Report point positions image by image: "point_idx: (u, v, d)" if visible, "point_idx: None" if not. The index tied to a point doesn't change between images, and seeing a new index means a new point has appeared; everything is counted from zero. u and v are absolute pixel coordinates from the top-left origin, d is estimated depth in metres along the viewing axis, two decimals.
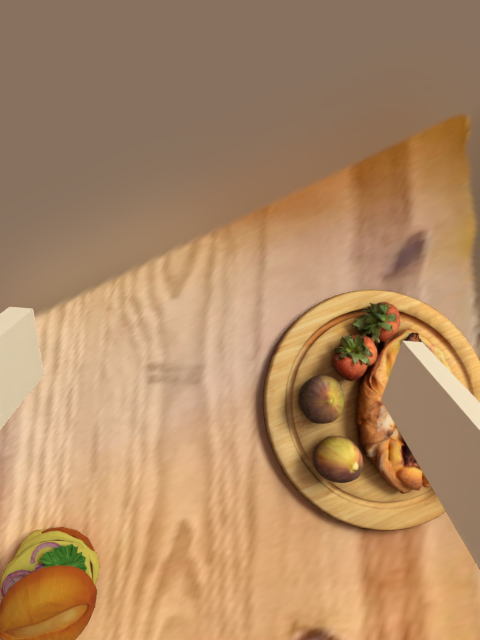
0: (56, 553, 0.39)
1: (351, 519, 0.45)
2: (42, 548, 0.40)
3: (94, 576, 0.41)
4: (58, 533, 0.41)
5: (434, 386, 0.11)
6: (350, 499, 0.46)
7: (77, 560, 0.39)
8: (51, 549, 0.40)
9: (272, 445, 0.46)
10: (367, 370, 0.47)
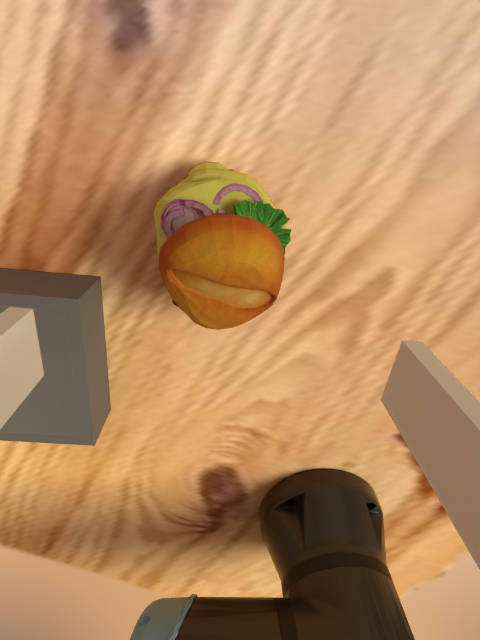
0: (257, 210, 0.24)
1: None
2: (238, 191, 0.24)
3: None
4: (258, 184, 0.25)
5: (434, 386, 0.11)
6: None
7: (279, 236, 0.25)
8: (249, 200, 0.25)
9: None
10: None
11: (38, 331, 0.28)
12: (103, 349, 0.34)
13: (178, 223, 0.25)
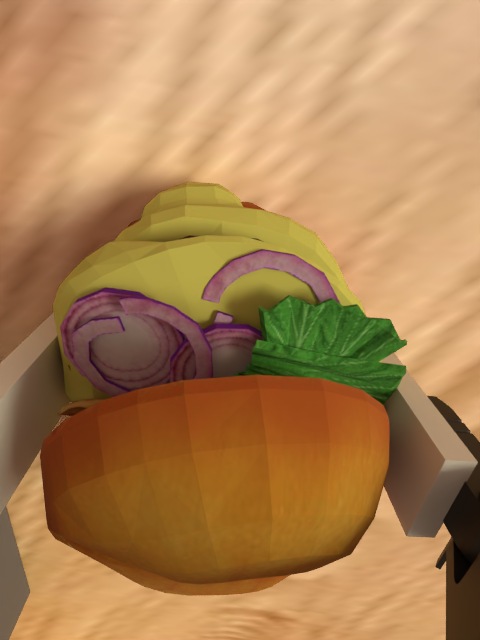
0: (323, 321, 0.09)
1: None
2: (270, 269, 0.09)
3: None
4: (319, 245, 0.10)
5: None
6: None
7: (372, 381, 0.10)
8: (299, 292, 0.09)
9: None
10: None
11: None
12: None
13: (109, 346, 0.09)
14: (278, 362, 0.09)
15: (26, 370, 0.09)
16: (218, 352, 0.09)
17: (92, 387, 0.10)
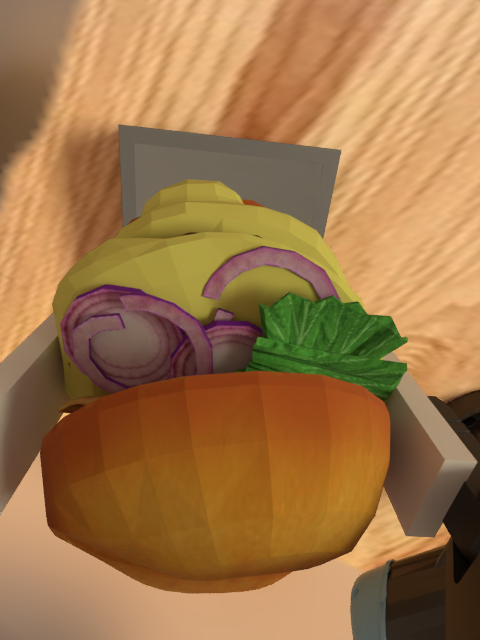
0: (324, 318, 0.09)
1: None
2: (271, 266, 0.09)
3: None
4: (320, 242, 0.10)
5: None
6: None
7: (373, 379, 0.10)
8: (300, 289, 0.09)
9: None
10: None
11: (286, 191, 0.25)
12: None
13: (109, 343, 0.09)
14: (279, 359, 0.09)
15: (27, 370, 0.09)
16: (218, 349, 0.09)
17: (92, 385, 0.10)
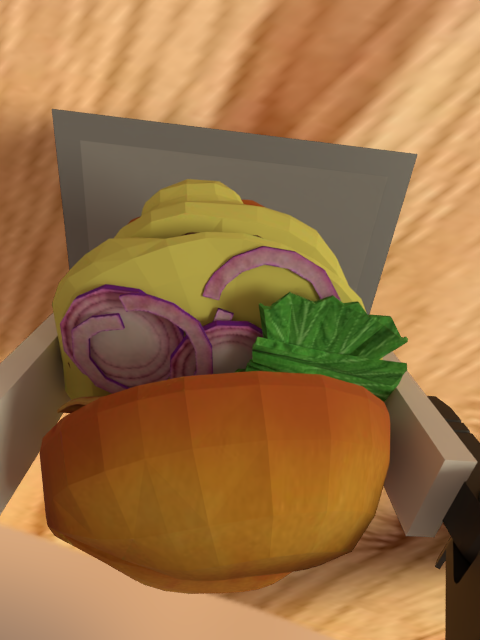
0: (323, 318, 0.09)
1: None
2: (271, 266, 0.09)
3: None
4: (320, 242, 0.10)
5: None
6: None
7: (373, 379, 0.10)
8: (300, 289, 0.09)
9: None
10: None
11: (324, 219, 0.16)
12: None
13: (109, 343, 0.09)
14: (278, 359, 0.09)
15: (27, 370, 0.09)
16: (218, 349, 0.09)
17: (92, 385, 0.10)
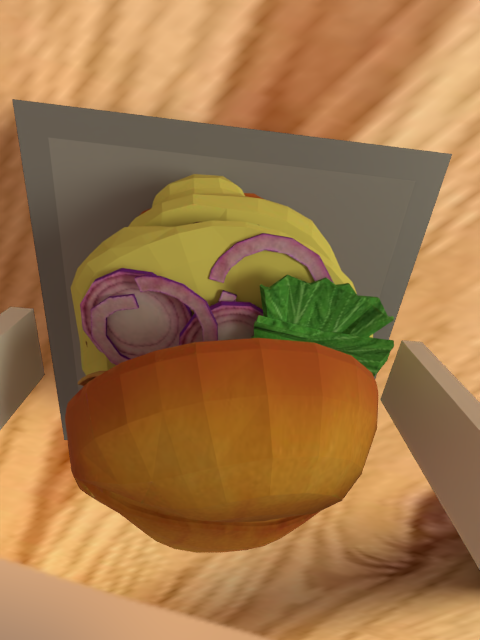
0: (318, 298, 0.10)
1: None
2: (271, 251, 0.10)
3: None
4: (315, 231, 0.11)
5: (434, 386, 0.11)
6: None
7: (363, 355, 0.11)
8: (296, 273, 0.10)
9: None
10: None
11: (339, 230, 0.14)
12: None
13: (124, 322, 0.10)
14: (277, 337, 0.10)
15: None
16: (223, 328, 0.10)
17: (107, 362, 0.11)
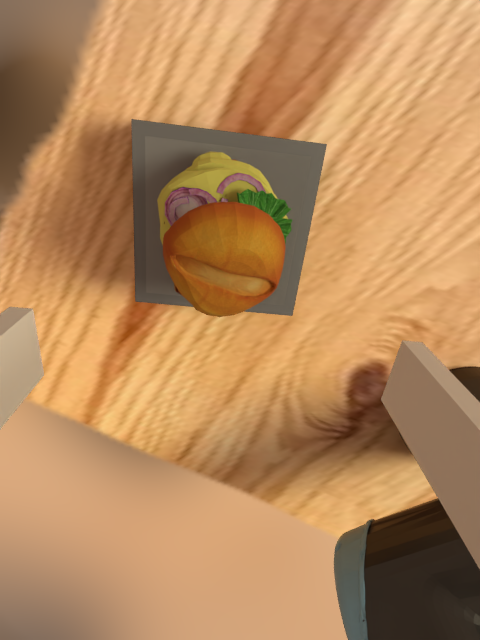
0: (260, 199, 0.25)
1: None
2: (241, 180, 0.25)
3: None
4: (261, 175, 0.26)
5: (434, 386, 0.11)
6: None
7: (280, 226, 0.26)
8: (252, 190, 0.25)
9: None
10: None
11: (278, 180, 0.29)
12: None
13: (182, 211, 0.25)
14: None
15: None
16: None
17: None
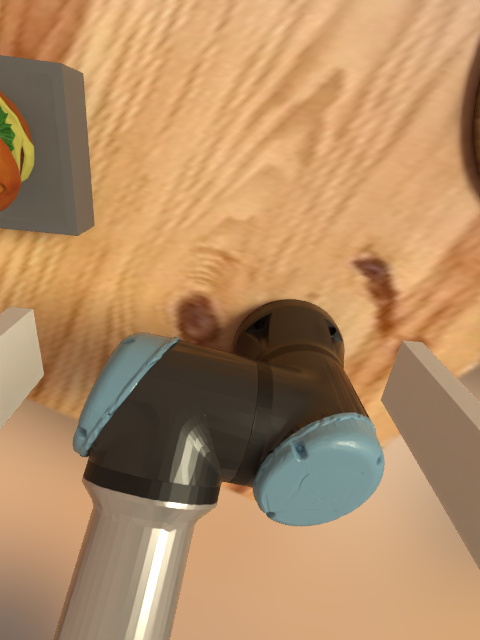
0: None
1: None
2: None
3: (24, 170, 0.32)
4: None
5: (434, 386, 0.11)
6: None
7: (3, 131, 0.29)
8: None
9: None
10: None
11: (27, 99, 0.32)
12: (86, 152, 0.38)
13: None
14: None
15: None
16: None
17: None
